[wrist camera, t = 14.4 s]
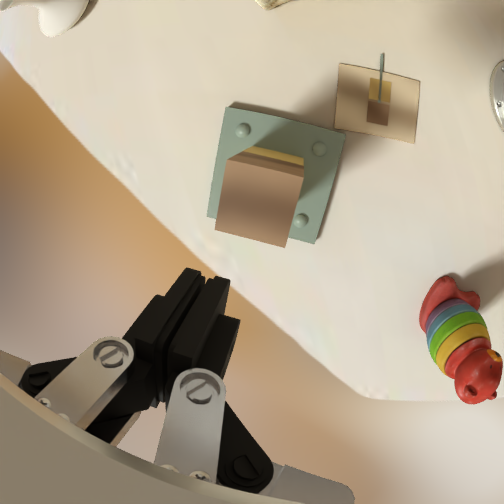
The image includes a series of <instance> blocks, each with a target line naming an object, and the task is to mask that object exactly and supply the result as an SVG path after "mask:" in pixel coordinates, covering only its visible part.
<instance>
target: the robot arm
mask: <svg viewBox="0 0 504 504" xmlns="http://www.w3.org/2000/svg"><path fill="white" fill-rule="evenodd" d="M490 97H491V103H492V107H493V111H494V114H495V117H496V119H497V121H498V123H499V125H500V127H501V129H502V130H503V132H504V61H502V62H500V63H499V64H498V65H497V66H496V67H495V69H494V70H493V73H492V76H491V81H490ZM229 287H230V280H229V279H226V278H222V277H219V276H215V277H214V279H211V278H209V279H208V280H207V282H206V284H205V277H204V276H201V272H200V271H197V270H194V269H191V268H186V269H185V270H184V271H183V272H182V274H181V275H180V276H179V277H178V279H177V280H176V282H175V283H174V284H173V285H172V287H171V288H170V289H169V291H168V292H167V293H166V295H165V296H161V295H155V296H154V298H153V299H152V300H151V301H150V303H149V304H148V305H147V307H146V308H145V309H144V310H143V312H142V313H141V314H140V316H139V317H138V318H137V319H136V321H135V322H134V323H133V325H132V326H131V327H130V328H129V330H128V331H127V332H126V334H125V335H124V336H123V338H122V339H121V338H119V337H112V336H111V337H104V338H101V339H98V340H97V341H95V342H94V343H93V344H91V345H90V346H89V347H88V348H87V349H86V350H85V351H84V352H83V353H82V354H80V355H79V357H74V358H69V359H62V360H57V361H51V362H45V363H39V364H35V365H31V364H30V362H28V361H26V360H23V359H21V358H18V357H16V356H13V355H11V354H9V353H6V352H4V351H2V350H0V504H354V500H355V498H354V495H353V492H352V491H351V489H350V488H349V487H348V486H346V485H344V484H342V483H339V482H335V481H332V480H329V479H325V478H322V477H319V476H316V475H313V474H310V473H307V472H304V471H301V470H298V469H296V468H293V467H290V466H288V465H285V466H281V465H278V464H276V463H274V462H271V460H270V458H269V457H268V456H267V455H266V453H265V452H264V451H263V450H262V448H261V447H260V446H259V445H258V443H257V442H256V441H255V440H254V438H253V437H252V436H251V434H250V433H249V432H248V430H247V429H246V428H245V426H244V425H243V424H242V422H241V421H240V420H239V418H238V417H237V416H236V414H235V413H234V412H233V410H232V409H231V408H230V406H229V405H228V404H227V402H226V401H225V396H226V388H225V384H224V382H223V378H224V375H225V372H226V369H227V366H228V363H229V360H230V357H231V354H232V351H233V348H234V344H235V341H236V337H237V333H238V329H239V325H240V320H239V319H236V318H232V317H229V316H225V315H224V313H225V307H226V302H227V296H228V292H229ZM160 401H161V402H165V403H166V416H165V420H164V424H163V428H162V432H161V436H160V440H159V445H158V448H157V453H156V456H155V461H154V464H153V463H151V462H148V461H146V460H143V459H141V458H139V457H136V456H134V455H132V454H130V453H127V452H125V451H123V450H121V449H119V448H117V447H116V446H117V445H118V444H119V442H120V441H121V440H122V438H123V437H124V436H125V434H126V433H127V432H128V431H129V429H130V428H131V427H132V425H133V424H134V423H135V421H136V420H137V419H138V418H139V416H140V414H141V411H143V410H147V409H149V407H150V406H152V407H155V408H157V406H158V404H159V402H160Z"/></svg>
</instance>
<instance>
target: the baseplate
mask: <svg viewBox="0 0 504 504" xmlns="http://www.w3.org/2000/svg"><path fill="white" fill-rule="evenodd" d="M345 137H346V135H345V134H342V133H339V132H336V131H332V130H329V129H325V128H321V127H318V126H314V125H310V124H306V123H302V122H298V121H294V120H290V119H286V118H282V117H277V116H272V115H268V114H263V113H258V112H253V111H247V110H242V109H236V108H230V107H226V108H225V114H224V119H223V124H222V129H221V134H220V140H219V145H218V151H217V156H216V162H215V168H214V174H213V180H212V186H211V192H210V198H209V204H208V211H207V217H210V218H214V219H216V218H217V212H218V206H219V200H220V194H221V189H222V183H223V177H224V172H225V166H226V161H227V159H229V158H230V157H232V156H234V155H236V154H238V153H240V152H242V151H243V150H245V149H247V148H249V147H251V146H256V147H260V148H265V149H269V150H273V151H278V152H282V153H286V154H290V155H294V156H298V157H302V158H304V179H303V183H302V187H301V190H300V194H299V198H298V202H297V205H296V209H295V213H294V217H293V220H292V224H291V228H290V231H289V235H288V237H289V238H293V239H296V240H300V241H304V242H308V243H311V244H315V241H316V238H317V234H318V231H319V228H320V225H321V222H322V218H323V215H324V212H325V208H326V205H327V202H328V198H329V195H330V191H331V188H332V184H333V181H334V177H335V174H336V170H337V167H338V163H339V159H340V156H341V152H342V148H343V144H344V140H345Z"/></svg>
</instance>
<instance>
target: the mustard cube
mask: <svg viewBox="0 0 504 504" xmlns="http://www.w3.org/2000/svg"><path fill="white" fill-rule="evenodd" d="M243 151H244V152H249V153H253V154H258V155H262V156H267V157H271V158H275V159H279V160H283V161H287V162H291V163H295V164H299V165H303V166H304V158H302V157H298V156H294V155H290V154H286V153H282V152H278V151H273V150H269V149H265V148H260V147H256V146H251V147H249V148H247V149H245V150H243Z"/></svg>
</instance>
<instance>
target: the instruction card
mask: <svg viewBox="0 0 504 504" xmlns="http://www.w3.org/2000/svg"><path fill="white" fill-rule="evenodd" d="M419 85H420V82H419V81H415V80H412V79H408V78H405V77H401V76H397V75H393V74H389V73H385V72H383V54H381V59H380V71H376V70H371V69H367V68H362V67H356V66H351V65H345V64H339V74H338V88H337V101H336V113H335V123H334V128H336V129H343V130H349V131H355V132H360V133H366V134H371V135H376V136H381V137H386V138H390V139H395V140H399V141H404V142H408V143H412V144H414V139H415V131H416V122H417V112H418V100H419Z"/></svg>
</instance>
